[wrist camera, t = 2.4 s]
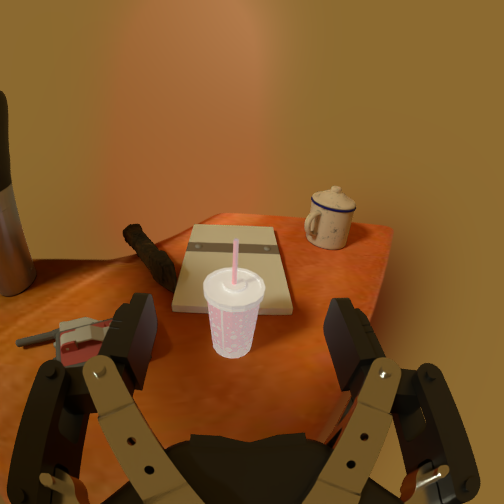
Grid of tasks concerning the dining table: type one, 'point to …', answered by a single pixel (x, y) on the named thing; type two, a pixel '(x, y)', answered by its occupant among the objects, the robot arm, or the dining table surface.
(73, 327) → the walkie-talkie
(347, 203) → the teacup with lid
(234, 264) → the beverage cup
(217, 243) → the floor panel
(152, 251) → the hand tool
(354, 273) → the dining table surface
